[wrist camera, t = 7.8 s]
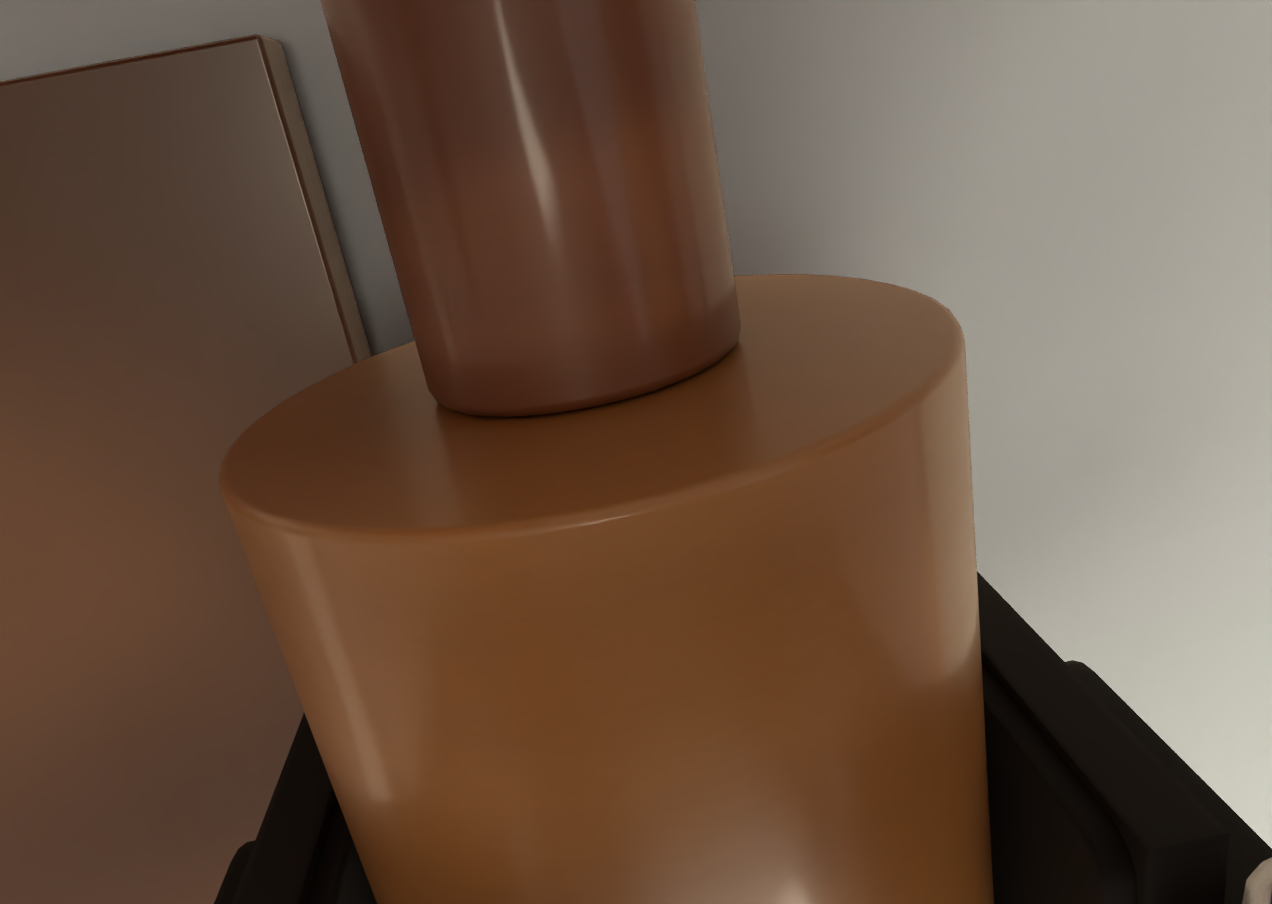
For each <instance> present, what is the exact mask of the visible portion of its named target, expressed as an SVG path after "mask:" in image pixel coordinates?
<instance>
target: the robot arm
mask: <svg viewBox="0 0 1272 904" xmlns="http://www.w3.org/2000/svg"><path fill="white" fill-rule="evenodd" d="M977 584H978V603H979V623H980V642H981V661H982V680H983V700H984V719H985V738H986V758H987V777H988V796H989V815H990V835H991V854H992V873H993V893H994V904H1272V849H1271V848H1270V847H1269V846H1268V845H1267V844H1266V843H1265V842H1264V841H1263V840H1262V839H1261V838H1260V837H1259V836H1258V835H1257V834H1256V833H1255V832H1254V831H1253V830H1252V829H1251V828H1250V827H1249V826H1248V825H1247V824H1246V823H1245V822H1244V821H1243V820H1242V819H1241V818H1240V817H1239V816H1238V815H1237V814H1236V813H1235V812H1234V811H1233V810H1232V809H1231V808H1230V807H1229V806H1228V805H1227V804H1226V803H1225V802H1224V801H1223V800H1222V799H1221V798H1220V797H1219V796H1218V795H1217V794H1216V793H1215V792H1214V791H1213V790H1212V789H1211V788H1210V787H1209V786H1208V785H1207V784H1206V783H1205V782H1204V781H1203V780H1202V779H1201V778H1200V777H1199V776H1198V775H1197V774H1196V773H1195V772H1194V771H1193V770H1192V769H1191V768H1190V767H1189V766H1188V765H1187V764H1186V763H1185V762H1184V761H1183V760H1182V759H1181V758H1180V757H1179V756H1178V755H1177V754H1176V753H1175V752H1174V751H1173V750H1172V749H1171V748H1170V747H1169V746H1168V745H1167V744H1166V743H1165V742H1164V741H1163V740H1162V739H1161V738H1160V737H1159V736H1158V735H1157V734H1156V733H1155V732H1154V731H1153V730H1152V729H1151V728H1150V727H1149V726H1148V725H1147V724H1146V723H1145V722H1144V721H1143V720H1142V719H1141V718H1140V717H1139V716H1138V715H1137V714H1136V713H1135V712H1134V711H1133V710H1132V709H1131V708H1130V707H1129V706H1128V705H1127V704H1126V703H1125V702H1124V701H1123V700H1122V699H1121V698H1120V697H1119V696H1118V695H1117V694H1116V693H1115V692H1114V691H1113V690H1112V689H1111V688H1110V687H1109V686H1108V685H1107V684H1106V683H1105V682H1104V681H1103V680H1102V679H1101V678H1100V677H1099V676H1098V675H1097V674H1096V673H1095V672H1094V671H1093V670H1091V669H1090V668H1089V667H1087V666H1086V665H1085V664H1084V663H1081V662H1077V661H1073V660H1072V661H1068V662H1064V661H1063V660H1062V659H1061V658H1060V657H1059V656H1058V655H1057V654H1056V653H1055V652H1054V651H1053V650H1052V649H1051V647H1050V646H1049V645H1048V644H1047V643H1046V642H1045V641H1044V640H1043V639H1042V638H1041V637H1040V636H1039V635H1038V634H1037V633H1036V632H1035V631H1034V630H1033V629H1032V628H1031V627H1030V626H1029V625H1028V624H1027V623H1026V622H1025V621H1024V619H1023V618H1022V617H1021V616H1020V615H1019V614H1018V613H1017V612H1016V611H1015V610H1014V609H1013V608H1012V607H1011V606H1010V605H1009V604H1008V603H1007V602H1006V601H1005V600H1004V599H1003V598H1002V597H1001V596H1000V595H999V594H998V593H997V591H996V590H995V589H994V588H993V587H992V586H991V585H990V584H989V583H988V582H987V581H986V580H985V579H984V578H983V577H982V576H981V575H980V574H979V573H978V572H977ZM214 904H377V902H376V900H375V897H374V895H373V892H372V889H371V887H370V884H369V881H368V879H367V876H366V873H365V871H364V868H363V866H362V863H361V860H360V858H359V855H358V852H357V850H356V847H355V845H354V842H353V839H352V837H351V834H350V831H349V829H348V826H347V823H346V821H345V818H344V816H343V813H342V810H341V808H340V805H339V802H338V800H337V797H336V795H335V792H334V789H333V787H332V784H331V781H330V779H329V776H328V773H327V771H326V768H325V766H324V763H323V760H322V758H321V755H320V752H319V750H318V747H317V745H316V742H315V739H314V737H313V734H312V731H311V729H310V726H309V723H308V721H307V718H306V716H305V713H304V714H303V717H302V719H301V722H300V724H299V727H298V730H297V732H296V735H295V738H294V740H293V743H292V745H291V748H290V751H289V753H288V756H287V759H286V761H285V764H284V766H283V769H282V772H281V774H280V777H279V780H278V782H277V785H276V787H275V790H274V793H273V795H272V798H271V801H270V803H269V806H268V808H267V811H266V814H265V816H264V819H263V822H262V824H261V827H260V829H259V832H258V835H257V837H256V840H254V841H250V842H246V843H245V844H244V845H242V846H241V847H240V848H238V850H237V852H236V853H235V855H234V857H233V859H232V861H231V862H230V865H229V867H228V870H227V872H226V875H225V877H224V880H223V882H222V885H221V887H220V890H219V892H218V895H217V897H216V900H215V902H214Z"/></svg>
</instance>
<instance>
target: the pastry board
mask: <svg viewBox="0 0 1272 904" xmlns="http://www.w3.org/2000/svg"><path fill="white" fill-rule="evenodd" d="M370 357H372V356H371V352H370V349H369V345H368V342H367V338H366V335H365V331H364V328H363V325H362V321H361V318H360V314H359V311H358V307H357V304H356V300H355V297H354V293H353V290H352V286H351V283H350V280H349V276H348V273H347V269H346V266H345V262H344V259H343V255H342V252H341V248H340V245H339V242H338V238H337V235H336V231H335V228H334V224H333V221H332V217H331V214H330V210H329V207H328V203H327V200H326V197H325V193H324V190H323V186H322V183H321V179H320V176H319V172H318V169H317V165H316V162H315V159H314V155H313V152H312V148H311V145H310V141H309V138H308V134H307V131H306V127H305V124H304V120H303V117H302V114H301V110H300V107H299V103H298V100H297V96H296V93H295V89H294V86H293V82H292V79H291V76H290V72H289V69H288V65H287V62H286V58H285V55H284V51H283V48H282V45H281V43H280V42H279V41H277V40H274V39H271V38H267V37H264V36H260V35H256V34H255V35H250V36H244V37H239V38H233V39H228V40H222V41H217V42H212V43H206V44H201V45H195V46H190V47H184V48H179V49H173V50H168V51H163V52H157V53H152V54H146V55H141V56H135V57H130V58H125V59H119V60H114V61H108V62H103V63H97V64H92V65H87V66H81V67H76V68H70V69H65V70H59V71H54V72H49V73H43V74H38V75H32V76H27V77H21V78H16V79H10V80H5V81H0V904H214V902H215V900H216V897H217V895H218V892H219V890H220V887H221V885H222V882H223V880H224V877H225V875H226V872H227V870H228V867H229V865H230V862H231V861H232V859H233V857H234V855H235V853H236V852H237V850H238V848H240V847H241V846H242V845H244V844H245V843H246V842H250V841H254V840H256V837H257V835H258V832H259V829H260V827H261V824H262V822H263V819H264V816H265V814H266V811H267V808H268V806H269V803H270V801H271V798H272V795H273V793H274V790H275V787H276V785H277V782H278V780H279V777H280V774H281V772H282V769H283V766H284V764H285V761H286V759H287V756H288V753H289V751H290V748H291V745H292V743H293V740H294V738H295V735H296V732H297V730H298V727H299V724H300V722H301V719H302V717H303V714H304V710H303V708H302V705H301V702H300V700H299V697H298V695H297V692H296V689H295V687H294V684H293V681H292V679H291V676H290V673H289V671H288V668H287V666H286V663H285V660H284V658H283V655H282V652H281V650H280V647H279V645H278V642H277V639H276V637H275V634H274V631H273V629H272V626H271V624H270V621H269V618H268V616H267V613H266V610H265V608H264V605H263V602H262V600H261V597H260V595H259V592H258V589H257V587H256V584H255V581H254V579H253V576H252V574H251V571H250V568H249V566H248V563H247V560H246V558H245V555H244V552H243V550H242V547H241V545H240V542H239V539H238V537H237V534H236V531H235V529H234V526H233V524H232V521H231V518H230V516H229V513H228V510H227V508H226V505H225V502H224V500H223V497H222V495H221V492H220V489H219V483H220V471H221V464H222V462H223V460H224V458H225V456H226V454H227V452H228V450H229V448H230V447H231V446H232V445H233V443H234V442H235V441H236V440H237V439H238V437H239V436H240V435H241V434H242V433H243V432H244V431H245V430H246V429H247V428H249V427H250V426H251V425H252V424H253V423H254V422H255V421H257V420H258V419H259V418H260V417H262V416H263V415H265V414H266V413H267V412H269V411H270V410H272V409H273V408H275V407H276V406H277V405H279V404H280V403H282V402H283V401H285V400H286V399H288V398H290V397H291V396H293V395H295V394H297V393H298V392H300V391H302V390H303V389H305V388H307V387H309V386H310V385H312V384H314V383H316V382H318V381H320V380H322V379H324V378H326V377H328V376H330V375H332V374H334V373H336V372H338V371H341V370H343V369H345V368H347V367H349V366H352V365H354V364H356V363H358V362H361V361H363V360H365V359H368V358H370Z"/></svg>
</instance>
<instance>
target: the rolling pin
mask: <svg viewBox="0 0 1272 904" xmlns="http://www.w3.org/2000/svg"><path fill="white" fill-rule="evenodd" d="M321 3H322V7H323V11H324V14H325V18H326V22H327V25H328V29H329V32H330V36H331V40H332V43H333V47H334V50H335V54H336V58H337V61H338V65H339V68H340V72H341V76H342V79H343V83H344V87H345V90H346V94H347V97H348V101H349V105H350V108H351V112H352V115H353V119H354V123H355V126H356V130H357V133H358V137H359V141H360V144H361V148H362V152H363V155H364V159H365V162H366V166H367V170H368V173H369V177H370V180H371V184H372V188H373V191H374V195H375V198H376V202H377V206H378V209H379V213H380V217H381V220H382V224H383V227H384V231H385V235H386V238H387V242H388V245H389V249H390V253H391V256H392V260H393V263H394V267H395V271H396V274H397V278H398V282H399V285H400V289H401V292H402V296H403V300H404V303H405V307H406V310H407V314H408V318H409V321H410V325H411V328H412V332H413V336H414V339H415V341H412V342H410V343H407V344H404V345H401V346H399V347H396V348H393V349H390V350H388V351H385V352H383V353H380V354H378V355H375V356H373V357H370V358H368V359H365V360H363V361H361V362H358V363H356V364H354V365H352V366H349V367H347V368H345V369H343V370H341V371H338V372H336V373H334V374H332V375H330V376H328V377H326V378H324V379H322V380H320V381H318V382H316V383H314V384H312V385H310V386H309V387H307V388H305V389H303V390H302V391H300V392H298V393H297V394H295V395H293V396H291V397H290V398H288V399H286V400H285V401H283V402H282V403H280V404H279V405H277V406H276V407H275V408H273V409H272V410H270V411H269V412H267V413H266V414H265V415H263V416H262V417H260V418H259V419H258V420H257V421H255V422H254V423H253V424H252V425H251V426H250V427H249V428H247V429H246V430H245V431H244V432H243V433H242V434H241V435H240V436H239V437H238V439H237V440H236V441H235V442H234V443H233V445H232V446H231V447H230V448H229V450H228V452H227V454H226V456H225V458H224V460H223V462H222V464H221V471H220V483H219V489H220V492H221V495H222V497H223V500H224V502H225V505H226V508H227V510H228V513H229V516H230V518H231V521H232V524H233V526H234V529H235V531H236V534H237V537H238V539H239V542H240V545H241V547H242V550H243V552H244V555H245V558H246V560H247V563H248V566H249V568H250V571H251V574H252V576H253V579H254V581H255V584H256V587H257V589H258V592H259V595H260V597H261V600H262V602H263V605H264V608H265V610H266V613H267V616H268V618H269V621H270V624H271V626H272V629H273V631H274V634H275V637H276V639H277V642H278V645H279V647H280V650H281V652H282V655H283V658H284V660H285V663H286V666H287V668H288V671H289V673H290V676H291V679H292V681H293V684H294V687H295V689H296V692H297V695H298V697H299V700H300V702H301V705H302V708H303V710H304V713H305V716H306V718H307V721H308V723H309V726H310V729H311V731H312V734H313V737H314V739H315V742H316V745H317V747H318V750H319V752H320V755H321V758H322V760H323V763H324V766H325V768H326V771H327V773H328V776H329V779H330V781H331V784H332V787H333V789H334V792H335V795H336V797H337V800H338V802H339V805H340V808H341V810H342V813H343V816H344V818H345V821H346V823H347V826H348V829H349V831H350V834H351V837H352V839H353V842H354V845H355V847H356V850H357V852H358V855H359V858H360V860H361V863H362V866H363V868H364V871H365V873H366V876H367V879H368V881H369V884H370V887H371V889H372V892H373V895H374V897H375V900H376V902H377V904H994V893H993V873H992V854H991V835H990V815H989V796H988V777H987V758H986V738H985V719H984V700H983V680H982V661H981V642H980V623H979V603H978V584H977V565H976V545H975V526H974V507H973V487H972V468H971V449H970V430H969V410H968V391H967V372H966V352H965V341H964V336H963V331H962V328H961V326H960V324H959V322H958V321H957V320H956V318H955V317H954V315H953V314H952V313H951V311H950V310H949V309H948V308H946V307H945V306H943V305H942V304H941V303H939V302H938V301H936V300H935V299H933V298H931V297H928V296H926V295H924V294H921V293H919V292H917V291H914V290H910V289H907V288H903V287H900V286H896V285H893V284H888V283H882V282H877V281H871V280H866V279H859V278H850V277H841V276H828V275H809V274H767V275H741V276H734V273H733V266H732V259H731V252H730V245H729V238H728V231H727V224H726V217H725V210H724V202H723V195H722V188H721V181H720V174H719V167H718V160H717V153H716V146H715V139H714V132H713V125H712V118H711V111H710V104H709V97H708V90H707V83H706V76H705V69H704V62H703V55H702V48H701V41H700V34H699V27H698V20H697V13H696V6H695V0H321Z"/></svg>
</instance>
